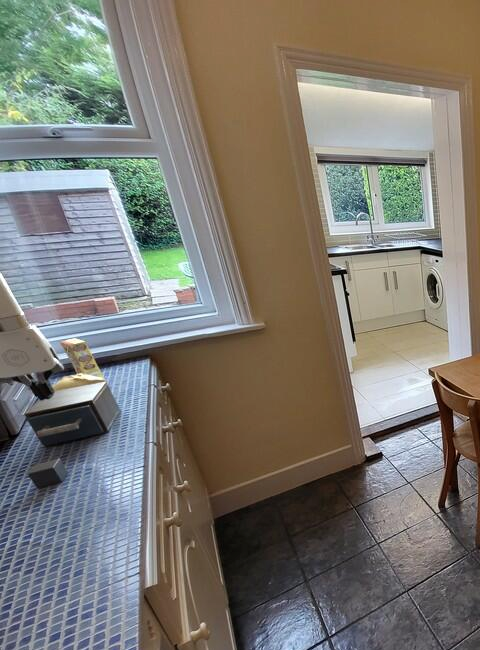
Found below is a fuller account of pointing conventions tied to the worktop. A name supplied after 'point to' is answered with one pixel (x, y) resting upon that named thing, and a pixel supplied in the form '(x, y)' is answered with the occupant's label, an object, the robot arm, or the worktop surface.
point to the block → (48, 473)
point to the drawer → (65, 424)
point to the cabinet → (82, 403)
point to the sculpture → (76, 381)
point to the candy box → (81, 357)
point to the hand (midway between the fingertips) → (47, 397)
